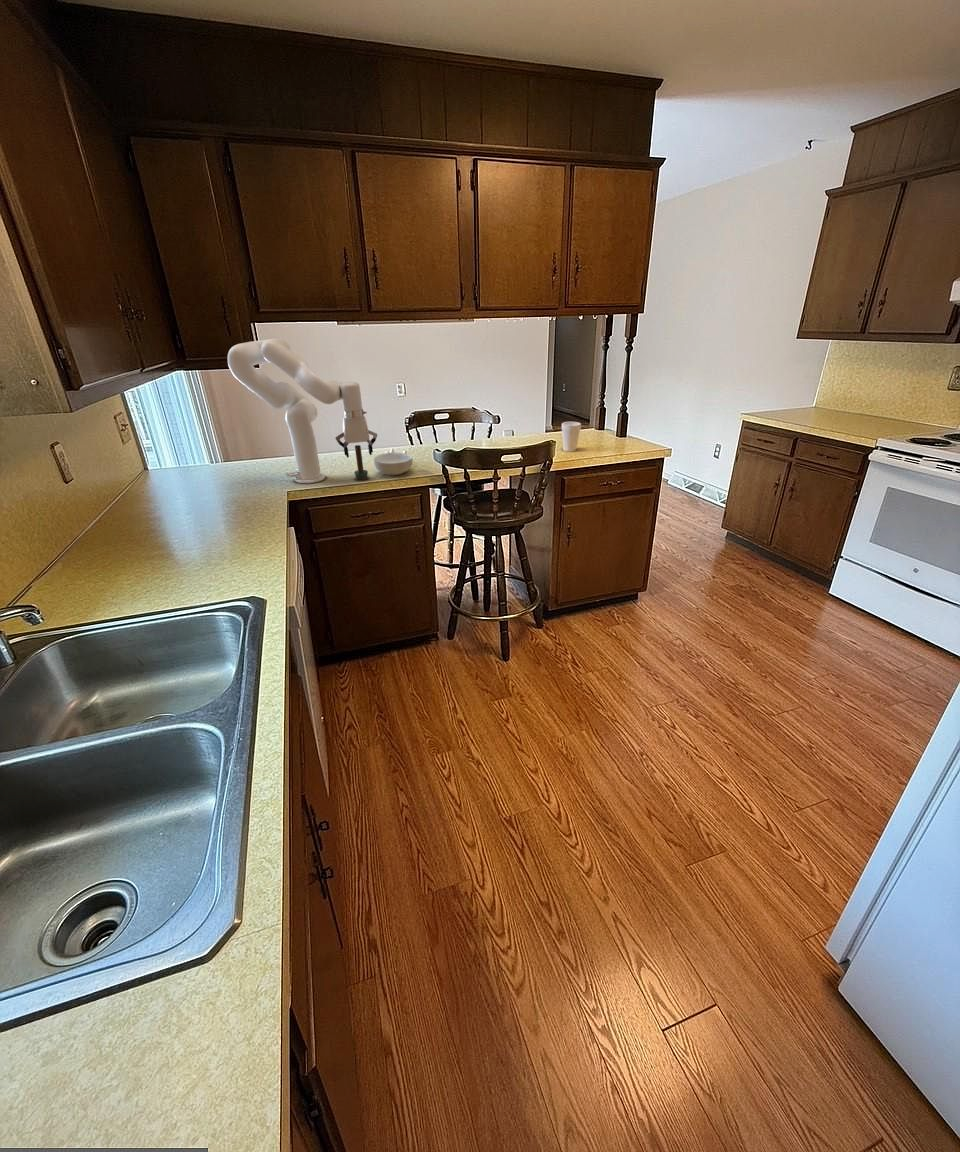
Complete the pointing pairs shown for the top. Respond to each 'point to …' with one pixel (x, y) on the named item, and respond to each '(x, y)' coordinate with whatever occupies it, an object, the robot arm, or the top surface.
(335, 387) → the robot arm
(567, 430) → the foam cup
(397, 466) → the cereal bowl
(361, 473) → the brush
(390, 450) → the bracket
